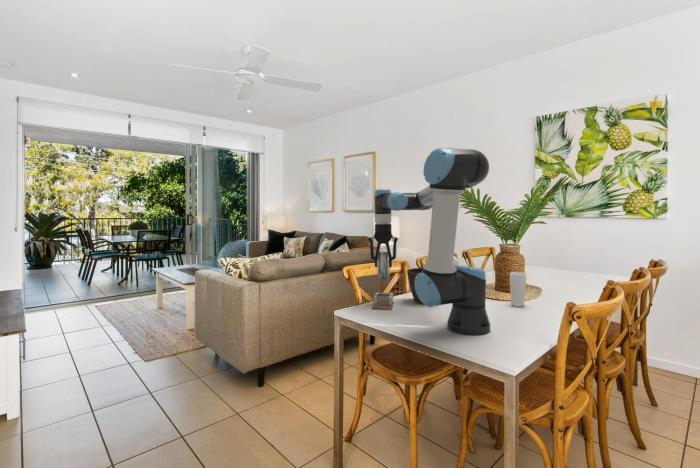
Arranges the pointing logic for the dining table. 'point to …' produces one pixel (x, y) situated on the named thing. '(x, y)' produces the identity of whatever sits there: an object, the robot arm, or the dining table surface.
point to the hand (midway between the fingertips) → (383, 274)
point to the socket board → (383, 301)
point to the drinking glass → (517, 288)
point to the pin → (383, 265)
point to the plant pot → (411, 277)
